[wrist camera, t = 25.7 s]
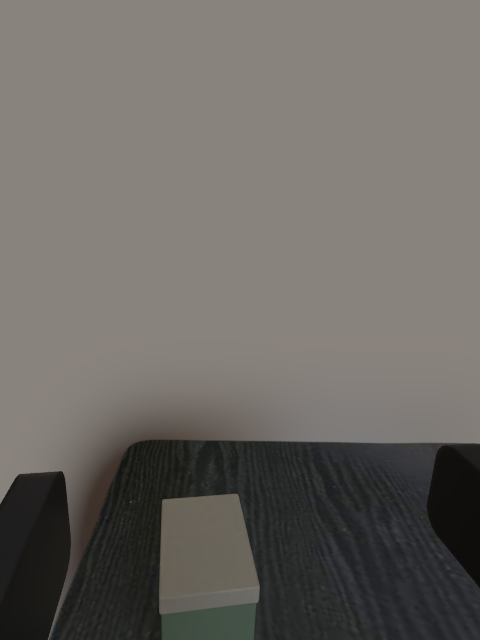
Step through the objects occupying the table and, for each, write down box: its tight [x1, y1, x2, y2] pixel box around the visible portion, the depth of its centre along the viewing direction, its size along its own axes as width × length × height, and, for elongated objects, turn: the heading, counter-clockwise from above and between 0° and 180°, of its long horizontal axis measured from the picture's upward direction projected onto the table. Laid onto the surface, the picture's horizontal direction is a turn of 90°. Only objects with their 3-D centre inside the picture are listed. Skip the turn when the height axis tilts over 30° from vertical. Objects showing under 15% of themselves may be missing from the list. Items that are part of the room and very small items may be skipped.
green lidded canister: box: [159, 494, 260, 640], centre depth 24 cm, size 5×7×12 cm
